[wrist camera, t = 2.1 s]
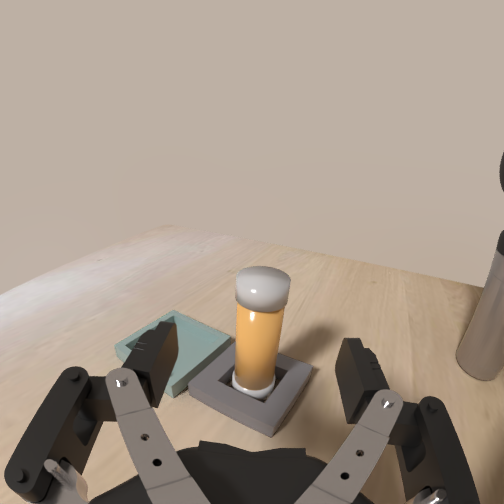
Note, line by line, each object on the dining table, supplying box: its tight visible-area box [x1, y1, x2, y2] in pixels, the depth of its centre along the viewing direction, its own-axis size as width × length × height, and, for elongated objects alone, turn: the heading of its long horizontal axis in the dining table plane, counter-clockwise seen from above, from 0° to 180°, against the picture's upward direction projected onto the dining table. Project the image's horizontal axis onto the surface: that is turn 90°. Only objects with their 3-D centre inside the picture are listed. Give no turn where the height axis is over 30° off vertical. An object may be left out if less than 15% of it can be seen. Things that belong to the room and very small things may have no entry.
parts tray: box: [114, 310, 231, 398], centre depth 33 cm, size 11×10×2 cm
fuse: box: [232, 266, 291, 402], centre depth 27 cm, size 5×5×14 cm
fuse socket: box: [188, 341, 313, 438], centre depth 29 cm, size 10×10×2 cm
